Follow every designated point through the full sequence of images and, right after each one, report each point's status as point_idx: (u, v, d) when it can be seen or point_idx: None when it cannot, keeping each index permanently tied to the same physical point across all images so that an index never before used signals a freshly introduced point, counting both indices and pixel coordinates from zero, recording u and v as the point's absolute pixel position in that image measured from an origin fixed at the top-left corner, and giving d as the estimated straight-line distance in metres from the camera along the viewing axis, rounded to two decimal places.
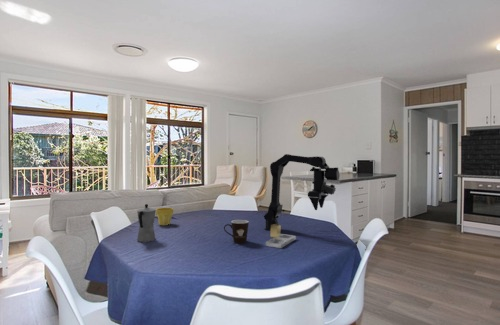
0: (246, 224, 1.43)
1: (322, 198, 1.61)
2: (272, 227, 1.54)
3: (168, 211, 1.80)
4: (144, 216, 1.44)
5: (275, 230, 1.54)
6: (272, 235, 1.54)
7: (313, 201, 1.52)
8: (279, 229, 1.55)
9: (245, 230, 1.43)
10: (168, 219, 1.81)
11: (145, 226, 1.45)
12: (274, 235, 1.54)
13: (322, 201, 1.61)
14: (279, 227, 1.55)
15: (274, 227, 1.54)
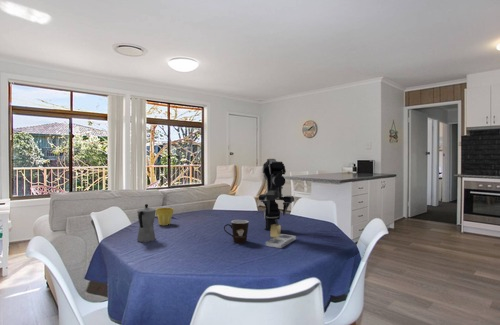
0: (246, 224, 1.43)
1: None
2: (272, 227, 1.55)
3: (168, 211, 1.80)
4: (144, 216, 1.44)
5: (275, 230, 1.54)
6: (272, 235, 1.54)
7: None
8: (279, 229, 1.55)
9: (245, 230, 1.43)
10: (168, 219, 1.81)
11: (145, 226, 1.45)
12: (274, 235, 1.54)
13: None
14: (279, 227, 1.55)
15: (274, 227, 1.54)
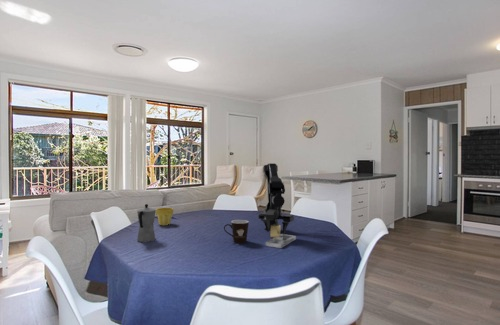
0: (246, 224, 1.43)
1: None
2: (272, 227, 1.55)
3: (168, 211, 1.80)
4: (144, 216, 1.44)
5: (275, 230, 1.54)
6: (272, 235, 1.54)
7: None
8: (279, 229, 1.55)
9: (245, 230, 1.43)
10: (168, 219, 1.81)
11: (145, 226, 1.45)
12: (274, 235, 1.54)
13: None
14: (279, 227, 1.55)
15: (274, 227, 1.54)
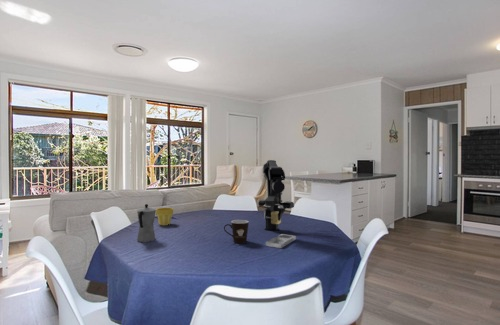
0: (246, 224, 1.43)
1: None
2: (272, 214, 1.54)
3: (168, 211, 1.80)
4: (144, 216, 1.44)
5: (275, 217, 1.54)
6: (272, 222, 1.55)
7: None
8: None
9: (245, 230, 1.43)
10: (168, 219, 1.81)
11: (145, 226, 1.45)
12: (274, 222, 1.54)
13: None
14: None
15: (274, 214, 1.54)
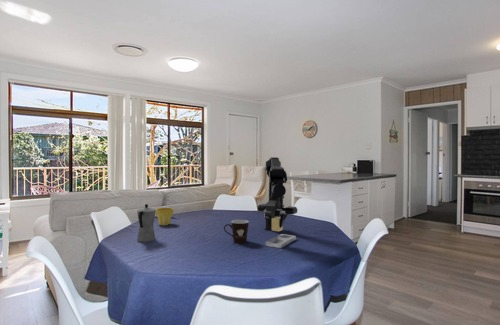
0: (246, 224, 1.43)
1: None
2: (273, 220, 1.39)
3: (168, 211, 1.80)
4: (144, 216, 1.44)
5: (277, 223, 1.38)
6: (273, 229, 1.39)
7: None
8: None
9: (245, 230, 1.43)
10: (168, 219, 1.81)
11: (145, 226, 1.45)
12: (275, 229, 1.38)
13: None
14: None
15: (276, 220, 1.38)
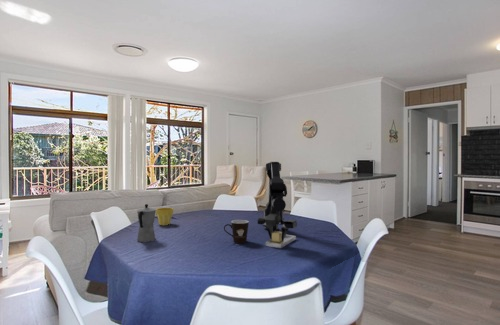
0: (246, 224, 1.43)
1: None
2: (273, 234, 1.39)
3: (168, 211, 1.80)
4: (144, 216, 1.44)
5: (277, 238, 1.38)
6: None
7: None
8: (281, 237, 1.40)
9: (245, 230, 1.43)
10: (168, 219, 1.81)
11: (145, 226, 1.45)
12: None
13: None
14: (281, 234, 1.40)
15: (276, 234, 1.38)
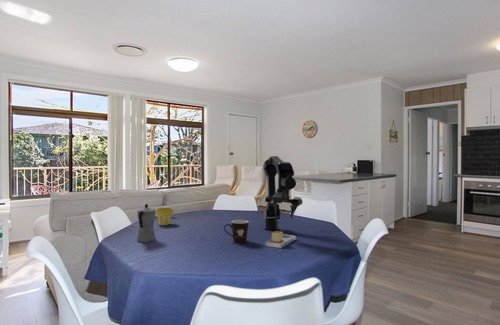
0: (246, 224, 1.43)
1: None
2: (273, 234, 1.39)
3: (168, 211, 1.80)
4: (144, 216, 1.44)
5: (277, 238, 1.38)
6: None
7: None
8: (281, 237, 1.40)
9: (245, 230, 1.43)
10: (168, 219, 1.81)
11: (145, 226, 1.45)
12: None
13: None
14: (281, 234, 1.40)
15: (276, 235, 1.38)
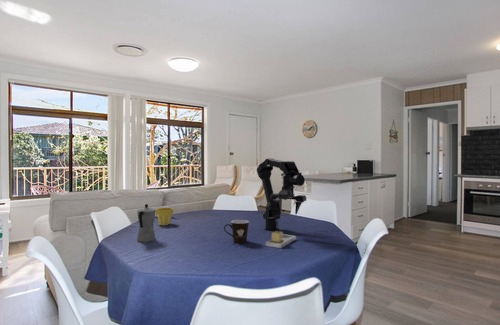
0: (246, 224, 1.43)
1: None
2: (273, 234, 1.39)
3: (168, 211, 1.80)
4: (144, 216, 1.44)
5: (277, 238, 1.38)
6: None
7: None
8: (281, 237, 1.40)
9: (245, 230, 1.43)
10: (168, 219, 1.81)
11: (145, 226, 1.45)
12: None
13: None
14: (281, 234, 1.40)
15: (276, 235, 1.38)
